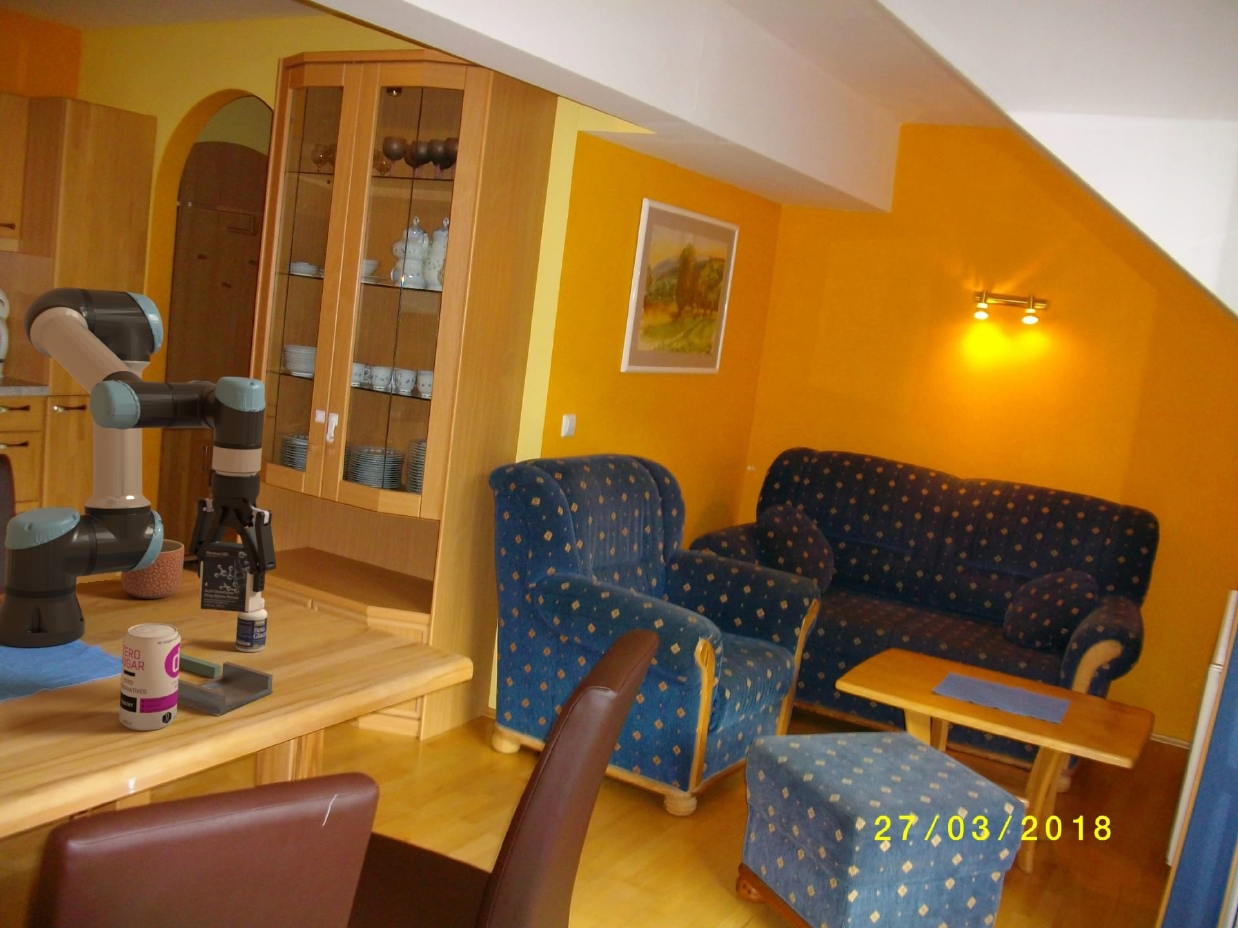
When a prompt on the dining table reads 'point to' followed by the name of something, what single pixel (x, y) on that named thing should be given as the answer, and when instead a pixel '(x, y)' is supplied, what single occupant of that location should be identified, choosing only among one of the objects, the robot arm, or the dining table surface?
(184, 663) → the green bar
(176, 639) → the supplement can
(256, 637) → the pill bottle
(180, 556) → the planter
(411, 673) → the dining table surface
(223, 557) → the box
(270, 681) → the keeper
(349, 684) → the dining table surface
